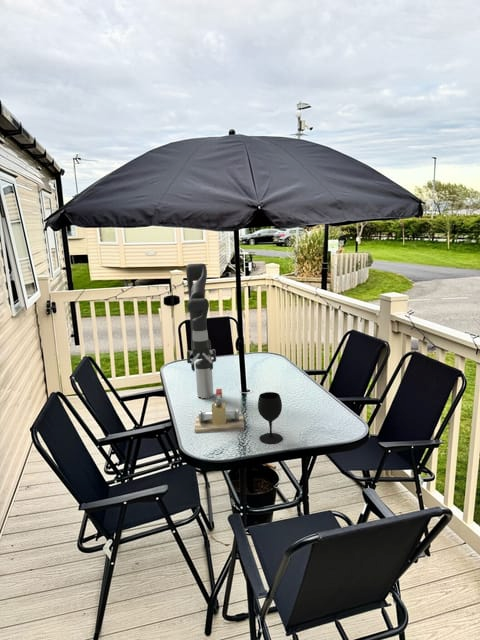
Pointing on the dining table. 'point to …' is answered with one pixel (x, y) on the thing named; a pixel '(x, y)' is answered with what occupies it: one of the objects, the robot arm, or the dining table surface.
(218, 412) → the valve
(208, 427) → the mounting board
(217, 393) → the lever
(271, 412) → the wine glass
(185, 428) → the dining table surface
